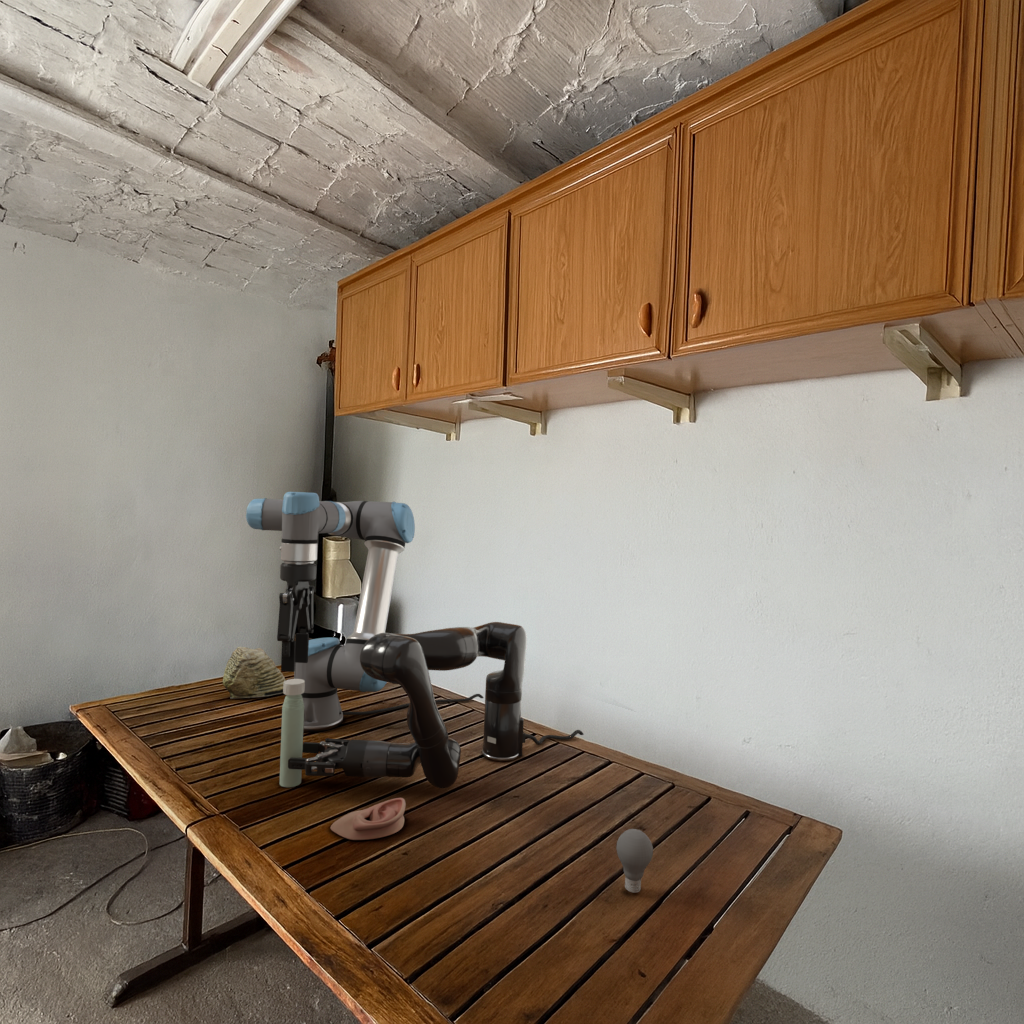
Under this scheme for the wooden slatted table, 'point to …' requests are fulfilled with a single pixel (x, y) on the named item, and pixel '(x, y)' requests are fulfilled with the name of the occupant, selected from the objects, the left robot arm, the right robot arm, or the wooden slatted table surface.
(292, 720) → the bottle
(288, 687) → the cap
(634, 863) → the light bulb
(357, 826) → the anatomical model
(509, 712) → the right robot arm
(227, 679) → the fossil
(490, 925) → the wooden slatted table surface
